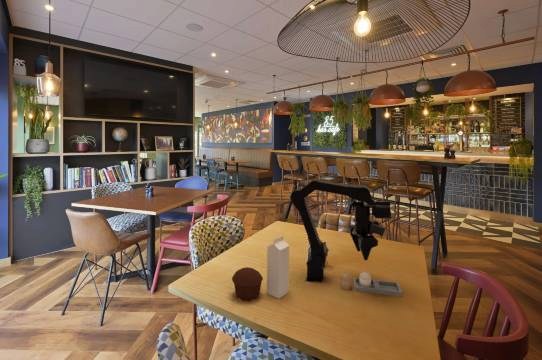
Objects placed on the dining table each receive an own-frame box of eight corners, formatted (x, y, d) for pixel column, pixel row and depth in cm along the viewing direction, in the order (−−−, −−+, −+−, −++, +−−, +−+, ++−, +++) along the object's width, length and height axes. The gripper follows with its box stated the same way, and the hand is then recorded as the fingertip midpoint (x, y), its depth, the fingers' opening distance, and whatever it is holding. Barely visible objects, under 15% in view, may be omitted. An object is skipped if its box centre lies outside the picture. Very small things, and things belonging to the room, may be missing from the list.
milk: (288, 292, 112) (290, 237, 109) (278, 299, 107) (280, 242, 104) (276, 287, 116) (277, 234, 113) (266, 293, 111) (267, 238, 108)
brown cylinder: (339, 290, 114) (340, 275, 113) (339, 285, 118) (340, 270, 117) (351, 291, 113) (352, 276, 112) (350, 286, 117) (351, 271, 116)
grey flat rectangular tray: (354, 291, 113) (354, 287, 113) (353, 281, 121) (353, 277, 120) (401, 297, 109) (402, 292, 109) (397, 286, 117) (397, 282, 117)
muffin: (267, 291, 113) (268, 267, 111) (254, 306, 103) (254, 279, 101) (241, 284, 118) (241, 261, 116) (226, 298, 108) (225, 272, 106)
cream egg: (359, 289, 114) (360, 274, 113) (358, 283, 118) (359, 269, 117) (371, 290, 113) (372, 275, 112) (369, 284, 117) (370, 270, 117)
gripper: (392, 223, 104) (391, 264, 106) (374, 211, 123) (374, 246, 125) (361, 224, 105) (361, 265, 107) (348, 212, 123) (348, 247, 125)
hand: (362, 255), depth 116 cm, fingers open, 9 cm apart
